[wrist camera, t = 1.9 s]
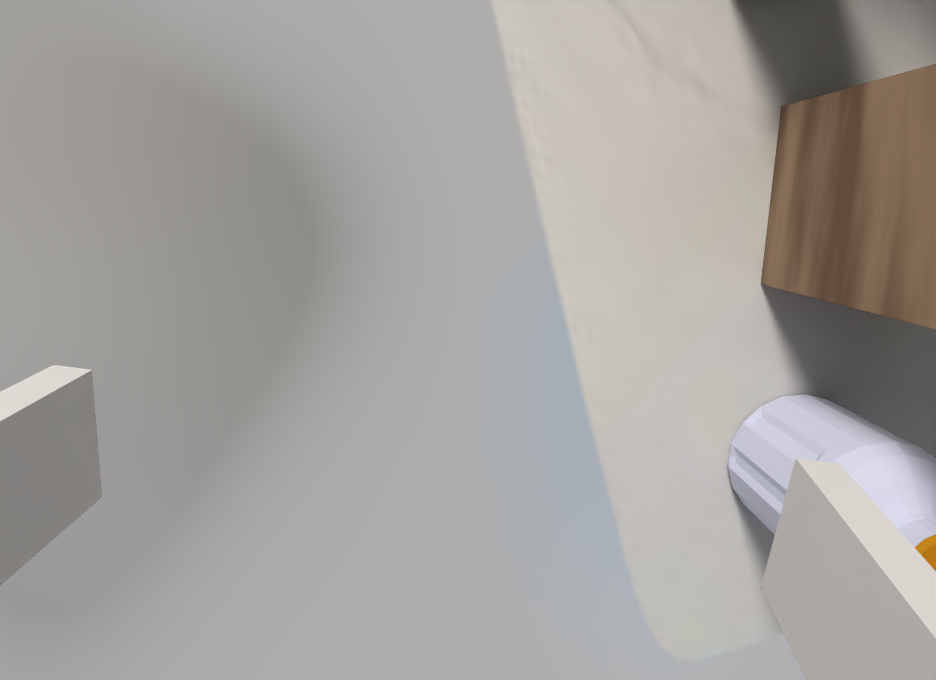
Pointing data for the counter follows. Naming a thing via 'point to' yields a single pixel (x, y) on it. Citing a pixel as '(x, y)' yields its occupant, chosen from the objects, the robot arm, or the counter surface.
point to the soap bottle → (837, 441)
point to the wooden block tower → (858, 198)
